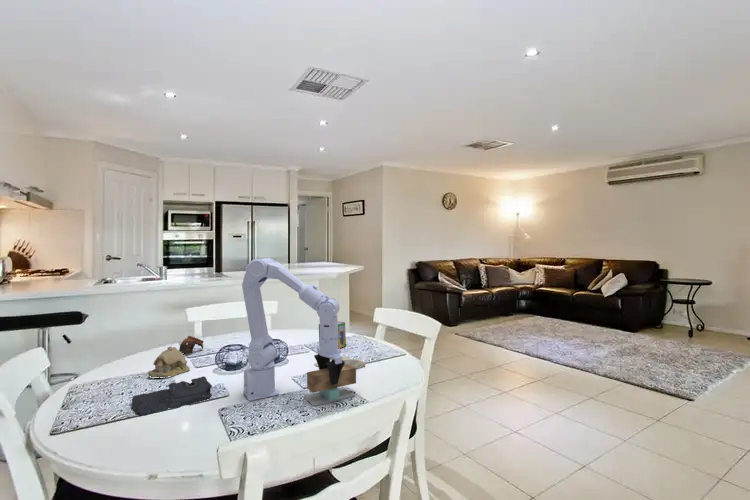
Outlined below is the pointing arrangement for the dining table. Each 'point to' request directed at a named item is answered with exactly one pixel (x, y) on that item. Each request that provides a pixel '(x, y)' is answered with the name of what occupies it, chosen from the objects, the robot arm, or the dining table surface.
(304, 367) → the dining table surface
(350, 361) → the rock
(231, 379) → the dining table surface
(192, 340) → the brown curved piece
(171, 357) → the ceramic model
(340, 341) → the chalk box
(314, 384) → the walnut bar
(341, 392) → the board
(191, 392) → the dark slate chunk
